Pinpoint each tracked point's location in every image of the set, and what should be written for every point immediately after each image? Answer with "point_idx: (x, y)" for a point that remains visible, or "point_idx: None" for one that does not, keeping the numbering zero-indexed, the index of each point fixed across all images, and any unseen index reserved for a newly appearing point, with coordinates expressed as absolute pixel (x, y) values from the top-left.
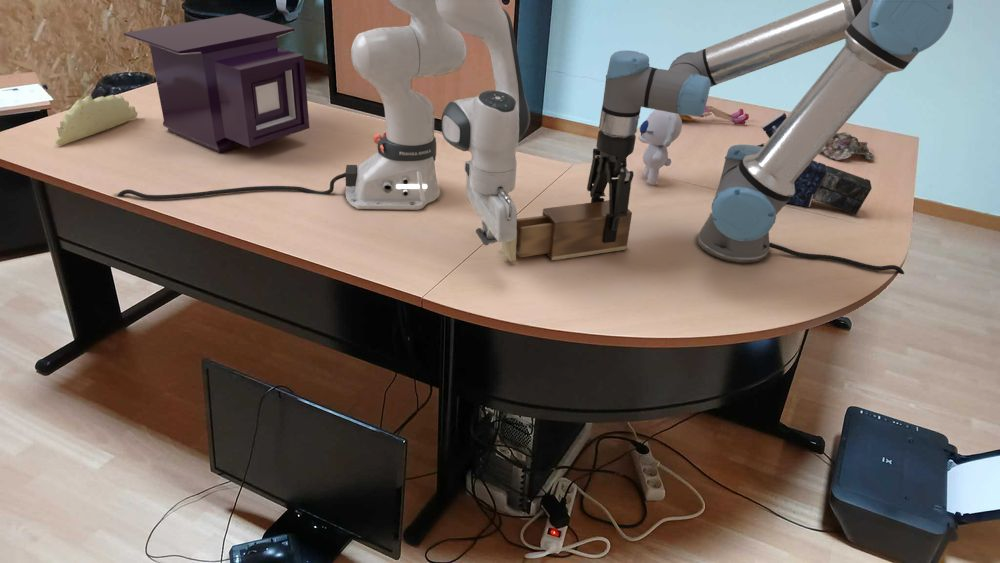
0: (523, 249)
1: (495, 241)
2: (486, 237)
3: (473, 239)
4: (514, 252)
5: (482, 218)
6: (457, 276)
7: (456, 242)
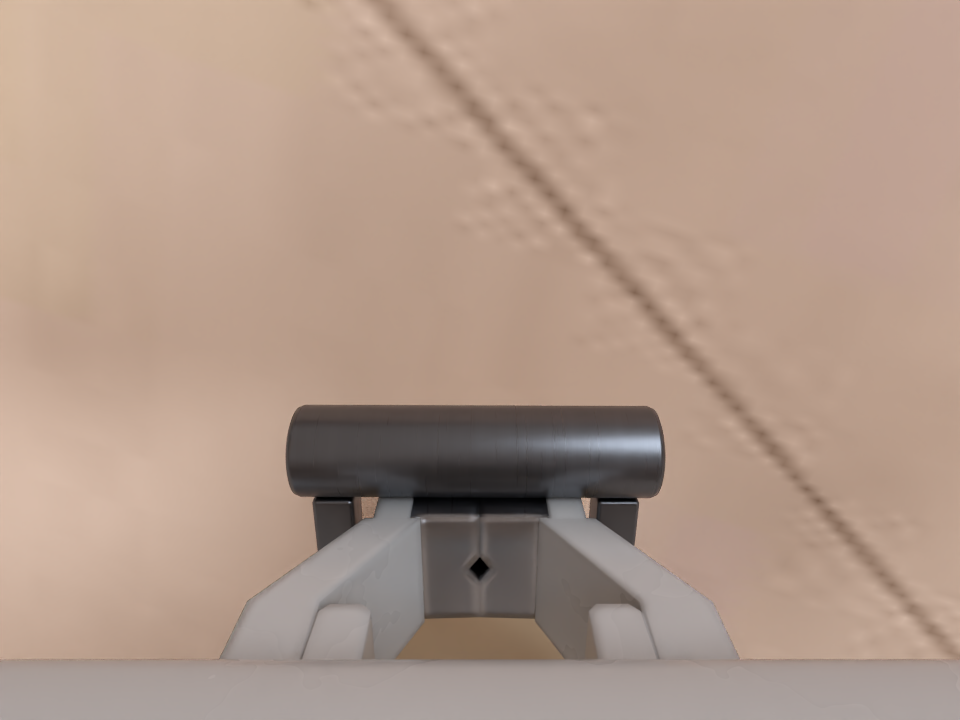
0: None
1: None
2: (365, 491)
3: (865, 377)
4: None
5: (424, 703)
6: (247, 4)
7: (889, 208)
